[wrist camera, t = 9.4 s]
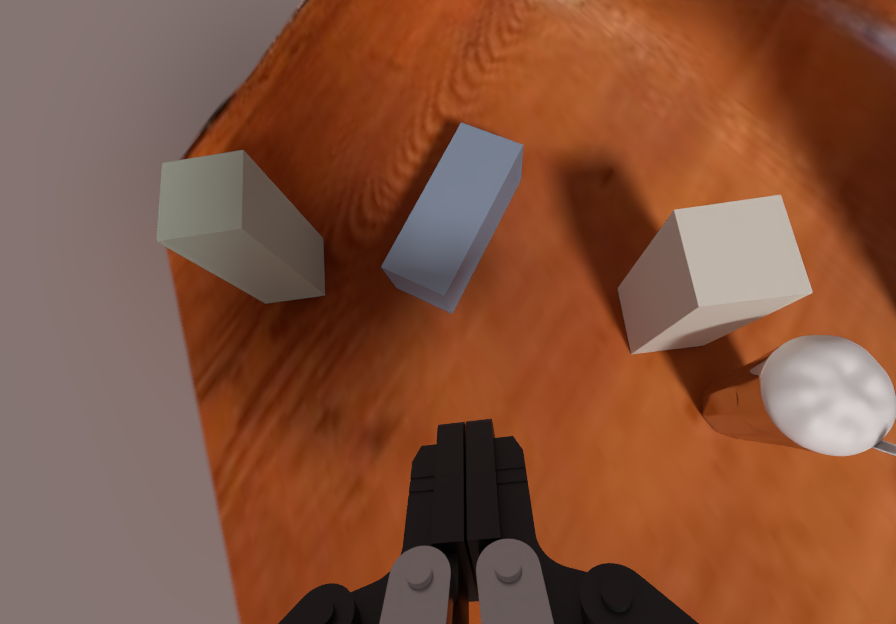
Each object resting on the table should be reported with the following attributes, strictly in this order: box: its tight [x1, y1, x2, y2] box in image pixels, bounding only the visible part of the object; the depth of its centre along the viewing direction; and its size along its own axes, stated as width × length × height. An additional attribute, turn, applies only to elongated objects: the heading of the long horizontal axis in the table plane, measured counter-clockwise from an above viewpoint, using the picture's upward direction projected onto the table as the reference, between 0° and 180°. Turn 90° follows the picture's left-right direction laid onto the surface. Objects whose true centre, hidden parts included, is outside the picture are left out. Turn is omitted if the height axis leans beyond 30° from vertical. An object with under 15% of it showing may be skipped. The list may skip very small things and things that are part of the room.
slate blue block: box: [381, 123, 523, 314], centre depth 29 cm, size 4×4×10 cm
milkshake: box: [701, 335, 896, 456], centre depth 21 cm, size 4×5×10 cm
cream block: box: [617, 195, 813, 354], centre depth 23 cm, size 4×4×10 cm
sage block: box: [156, 150, 325, 304], centre depth 26 cm, size 4×4×10 cm
